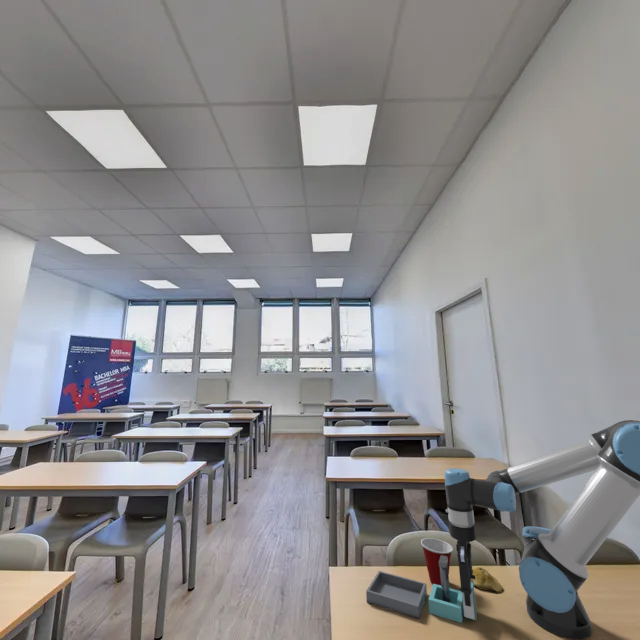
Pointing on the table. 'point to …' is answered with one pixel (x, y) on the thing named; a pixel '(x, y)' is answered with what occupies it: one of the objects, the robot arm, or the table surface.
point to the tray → (397, 594)
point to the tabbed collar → (449, 604)
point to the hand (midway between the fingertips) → (470, 610)
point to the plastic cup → (435, 557)
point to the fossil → (485, 580)
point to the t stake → (444, 578)
